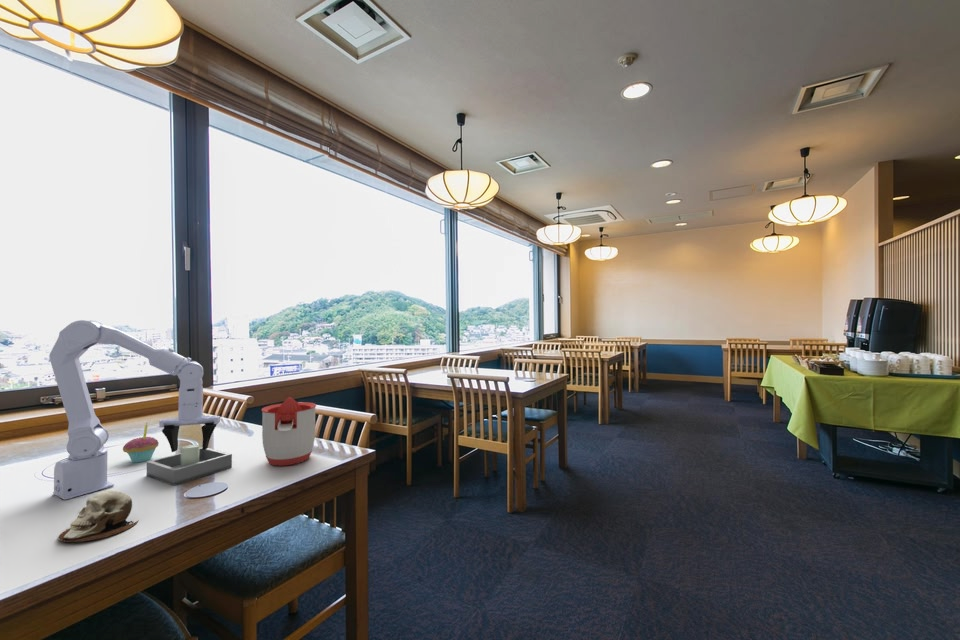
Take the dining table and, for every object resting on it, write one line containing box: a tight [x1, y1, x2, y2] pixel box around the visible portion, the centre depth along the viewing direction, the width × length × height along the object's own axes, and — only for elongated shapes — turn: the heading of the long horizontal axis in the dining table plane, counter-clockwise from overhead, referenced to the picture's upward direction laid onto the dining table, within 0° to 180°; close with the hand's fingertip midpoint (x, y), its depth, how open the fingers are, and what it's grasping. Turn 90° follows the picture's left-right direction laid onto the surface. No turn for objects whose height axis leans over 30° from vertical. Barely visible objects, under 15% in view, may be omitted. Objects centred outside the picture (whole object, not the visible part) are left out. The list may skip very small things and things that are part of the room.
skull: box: [57, 489, 139, 543], centre depth 82 cm, size 12×10×10 cm
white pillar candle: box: [180, 444, 201, 467], centre depth 114 cm, size 4×4×6 cm
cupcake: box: [122, 422, 159, 463], centre depth 124 cm, size 9×8×12 cm
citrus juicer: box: [261, 396, 317, 467], centre depth 122 cm, size 16×17×20 cm
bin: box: [146, 447, 233, 486], centre depth 114 cm, size 15×15×4 cm
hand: (190, 449), depth 114 cm, fingers open, 7 cm apart
